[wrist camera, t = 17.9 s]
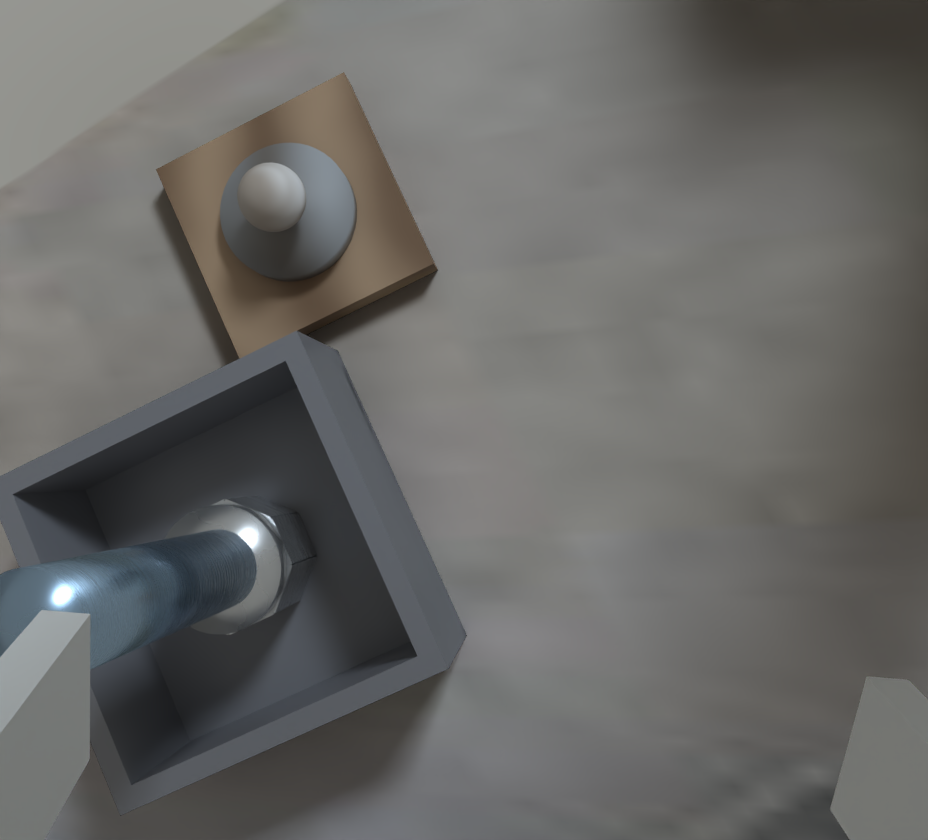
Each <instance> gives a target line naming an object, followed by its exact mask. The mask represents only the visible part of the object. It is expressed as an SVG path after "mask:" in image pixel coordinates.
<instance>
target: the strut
mask: <svg viewBox="0 0 928 840" xmlns="http://www.w3.org/2000/svg"><path fill="white" fill-rule="evenodd" d="M316 554H317V553H316V551H315V549H314V546H313V544H312V542H311V540H310V537H309V535H308V533H307V531H306V528H305V526H304V524H303V521H302V519H301V517H300V515H299V513H297V511H295V510H292V509H290V508H287V507H285V506H282V505H279V504H277V503H274V502H272V501H269V500H266V499H264V498H261V497H259V496H247V497H238V498H229V499H223V500H221V501H219V502H217V503H215V504H213V505H211V506H206V507H201V508H199V509H196V510H194V511H192V512H190V513H188V514H186V515H185V516H184V517H182V518H181V519H180V520H179V521H178V522H177V523H175V524H174V525H173V527H172V528H171V529H170V531H169V532H168V534H167V535H166V537H165V539H163V540H158V541H153V542H148V543H143V544H138V545H133V546H128V547H123V548H118V549H113V550H108V551H102V552H97V553H92V554H87V555H82V556H77V557H72V558H67V559H62V560H57V561H52V562H47V563H42V564H37V565H32V566H26V567H21V568H17V569H13V570H9V571H7V572H4V573H2V574H0V657H1V656H2V655H3V653H4V652H5V651H6V650H7V649H8V648H9V647H10V645H11V644H12V643H13V642H14V641H15V640H16V638H17V637H18V636H19V635H20V634H21V633H22V632H23V630H24V629H25V628H26V627H27V626H28V625H29V624H30V622H31V621H32V620H33V619H34V618H35V617H36V616H37V614H38V613H39V612H40V611H41V610H49V611H61V612H73V613H86V614H90V670H92V669H94V668H96V667H98V666H101V665H103V664H105V663H107V662H110V661H112V660H114V659H116V658H119V657H121V656H123V655H125V654H128V653H130V652H132V651H134V650H137V649H139V648H141V647H143V646H146V645H148V644H150V643H152V642H155V641H157V640H159V639H161V638H164V637H166V636H168V635H170V634H173V633H175V632H177V631H180V630H182V629H184V628H186V627H191V628H193V629H195V630H197V631H201V632H204V633H209V634H227V635H229V634H230V635H231V634H233V633H235V632H237V631H240V630H242V629H245V628H247V627H248V626H250V625H252V624H254V623H257V622H259V621H261V620H263V619H265V618H267V617H270V616H272V615H274V614H276V613H278V612H280V611H281V610H283V609H285V608H287V607H289V606H291V605H293V604H295V603H296V602H298V601H300V600H301V599H302V596H303V593H304V591H305V588H306V585H307V582H308V580H309V577H310V574H311V571H312V569H313V566H314V563H315V560H316V558H317V556H315V555H316Z"/></svg>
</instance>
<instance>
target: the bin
mask: <svg viewBox="0 0 928 840" xmlns="http://www.w3.org/2000/svg"><path fill="white" fill-rule="evenodd" d="M247 496H259V497H261V498H264V499H266V500H269V501H272V502H274V503H277V504H279V505H282V506H285V507H287V508H290V509H292V510H295V511H297V513H299V515H300V517H301V519H302V521H303V524H304V526H305V528H306V531H307V533H308V535H309V537H310V540H311V542H312V544H313V546H314V549H315V551H316V553H317V554H316V555H315V556H317V558H316V560H315V563H314V566H313V569H312V571H311V574H310V577H309V580H308V582H307V585H306V588H305V591H304V593H303V596H302V599H301V600H300V601H298V602H296V603H295V604H293V605H291V606H289V607H287V608H285V609H283V610H281V611H280V612H278V613H276V614H274V615H272V616H270V617H267V618H265V619H263V620H261V621H259V622H257V623H254V624H252V625H250V626H248V627H247V628H245V629H242V630H240V631H237V632H235V633H233V634H231V635H230V634H229V635H227V634H209V633H204V632H201V631H197V630H195V629H193V628H191V627H186V628H184V629H182V630H180V631H177V632H175V633H173V634H170V635H168V636H166V637H164V638H161V639H159V640H157V641H155V642H152V643H150V644H148V645H146V646H143V647H141V648H139V649H137V650H134V651H132V652H130V653H128V654H125V655H123V656H121V657H119V658H116V659H114V660H112V661H110V662H107V663H105V664H103V665H101V666H98V667H96V668H94V669H92V670H90V742H91V745H92V747H93V750H94V752H95V755H96V757H97V759H98V762H99V764H100V767H101V769H102V772H103V774H104V777H105V779H106V782H107V784H108V787H109V789H110V792H111V794H112V796H113V799H114V801H115V804H116V806H117V809H118V811H119V814H120V816H121V815H123V814H125V813H127V812H129V811H132V810H134V809H136V808H138V807H141V806H143V805H145V804H147V803H150V802H152V801H154V800H156V799H159V798H161V797H163V796H165V795H167V794H170V793H172V792H174V791H176V790H179V789H181V788H183V787H185V786H188V785H190V784H192V783H194V782H197V781H199V780H201V779H203V778H205V777H208V776H210V775H212V774H214V773H217V772H219V771H221V770H223V769H226V768H228V767H230V766H232V765H234V764H237V763H239V762H241V761H243V760H246V759H248V758H250V757H252V756H255V755H257V754H259V753H261V752H264V751H266V750H268V749H270V748H272V747H275V746H277V745H279V744H281V743H284V742H286V741H288V740H290V739H293V738H295V737H297V736H299V735H301V734H304V733H306V732H308V731H310V730H313V729H315V728H317V727H319V726H322V725H324V724H326V723H328V722H331V721H333V720H335V719H337V718H339V717H342V716H344V715H346V714H348V713H351V712H353V711H355V710H357V709H360V708H362V707H364V706H366V705H369V704H371V703H373V702H375V701H377V700H380V699H382V698H384V697H386V696H389V695H391V694H393V693H395V692H398V691H400V690H402V689H404V688H406V687H409V686H411V685H413V684H415V683H418V682H420V681H422V680H424V679H427V678H429V677H431V676H433V675H436V674H438V673H440V672H442V671H444V670H447V669H449V667H450V665H451V663H452V661H453V660H454V658H455V656H456V654H457V652H458V650H459V649H460V647H461V645H462V643H463V641H464V639H465V638H466V636H467V635H466V633H465V630H464V628H463V626H462V624H461V622H460V619H459V617H458V615H457V613H456V611H455V608H454V606H453V604H452V602H451V600H450V597H449V595H448V593H447V591H446V589H445V586H444V584H443V582H442V580H441V578H440V575H439V573H438V571H437V569H436V566H435V564H434V562H433V560H432V558H431V555H430V553H429V551H428V549H427V547H426V544H425V542H424V540H423V538H422V536H421V533H420V531H419V529H418V527H417V525H416V522H415V520H414V518H413V516H412V514H411V511H410V509H409V507H408V505H407V502H406V500H405V498H404V496H403V494H402V491H401V489H400V487H399V485H398V483H397V480H396V478H395V476H394V474H393V472H392V469H391V467H390V465H389V463H388V461H387V458H386V456H385V454H384V452H383V450H382V447H381V445H380V443H379V441H378V438H377V436H376V434H375V432H374V430H373V427H372V425H371V423H370V421H369V419H368V416H367V414H366V412H365V410H364V408H363V405H362V403H361V401H360V399H359V397H358V394H357V392H356V390H355V388H354V386H353V383H352V381H351V379H350V377H349V374H348V372H347V370H346V368H345V366H344V363H343V361H342V359H341V357H340V355H339V352H338V351H337V350H335V349H333V348H331V347H329V346H327V345H325V344H323V343H321V342H319V341H317V340H315V339H313V338H311V337H309V336H307V335H305V334H303V333H301V332H298V331H295V332H293V333H291V334H289V335H287V336H285V337H283V338H280V339H278V340H276V341H274V342H272V343H270V344H268V345H266V346H264V347H262V348H260V349H258V350H256V351H254V352H252V353H250V354H248V355H246V356H244V357H242V358H240V359H238V360H236V361H234V362H232V363H230V364H228V365H226V366H224V367H221V368H219V369H217V370H215V371H213V372H211V373H209V374H207V375H205V376H203V377H201V378H199V379H197V380H195V381H193V382H191V383H189V384H187V385H185V386H183V387H181V388H179V389H177V390H175V391H173V392H171V393H169V394H167V395H165V396H162V397H160V398H158V399H156V400H154V401H152V402H150V403H148V404H146V405H144V406H142V407H140V408H138V409H136V410H134V411H132V412H130V413H128V414H126V415H124V416H122V417H120V418H118V419H116V420H114V421H112V422H110V423H108V424H106V425H104V426H101V427H99V428H97V429H95V430H93V431H91V432H89V433H87V434H85V435H83V436H81V437H79V438H77V439H75V440H73V441H71V442H69V443H67V444H65V445H63V446H61V447H59V448H57V449H55V450H53V451H51V452H49V453H47V454H45V455H42V456H40V457H38V458H36V459H34V460H32V461H30V462H28V463H26V464H24V465H22V466H20V467H18V468H16V469H14V470H12V471H10V472H8V473H6V474H4V475H2V476H0V520H1V523H2V525H3V528H4V530H5V533H6V535H7V537H8V540H9V542H10V545H11V547H12V550H13V552H14V555H15V557H16V560H17V562H18V565H19V567H20V568H21V567H26V566H32V565H37V564H42V563H47V562H52V561H57V560H62V559H67V558H72V557H77V556H82V555H87V554H92V553H97V552H102V551H108V550H113V549H118V548H123V547H128V546H133V545H138V544H143V543H148V542H153V541H158V540H163V539H165V537H166V535H167V534H168V532H169V531H170V529H171V528H172V527H173V525H174V524H175V523H177V522H178V521H179V520H180V519H181V518H182V517H184V516H185V515H186V514H188V513H190V512H192V511H194V510H196V509H199V508H201V507H206V506H211V505H213V504H215V503H217V502H219V501H221V500H223V499H229V498H238V497H247Z"/></svg>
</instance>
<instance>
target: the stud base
mask: <svg viewBox="0 0 928 840" xmlns="http://www.w3.org/2000/svg"><path fill="white" fill-rule="evenodd" d="M156 170H157V173H158V175H159V177H160V180H161V182H162V184H163V186H164V189H165V191H166V193H167V195H168V198H169V200H170V202H171V204H172V207H173V209H174V211H175V214H176V216H177V218H178V220H179V223H180V225H181V227H182V229H183V232H184V234H185V236H186V238H187V241H188V243H189V245H190V248H191V250H192V252H193V254H194V257H195V259H196V261H197V263H198V266H199V268H200V270H201V272H202V275H203V277H204V279H205V282H206V284H207V286H208V288H209V291H210V293H211V295H212V297H213V300H214V302H215V304H216V306H217V309H218V311H219V313H220V316H221V318H222V320H223V322H224V325H225V327H226V329H227V331H228V334H229V336H230V338H231V340H232V343H233V345H234V347H235V350H236V352H237V354H238V356H239V359H240V358H242V357H244V356H246V355H248V354H250V353H252V352H254V351H256V350H258V349H260V348H262V347H264V346H266V345H268V344H270V343H272V342H274V341H276V340H278V339H280V338H283V337H285V336H287V335H289V334H291V333H293V332H295V331H298V332H301V333H303V334H305V335H307V334H309V333H311V332H313V331H315V330H317V329H319V328H321V327H323V326H325V325H327V324H329V323H331V322H333V321H335V320H337V319H339V318H341V317H343V316H345V315H348V314H350V313H352V312H354V311H356V310H358V309H360V308H362V307H364V306H366V305H368V304H370V303H372V302H374V301H376V300H378V299H380V298H382V297H384V296H386V295H388V294H390V293H392V292H394V291H396V290H398V289H401V288H403V287H405V286H407V285H409V284H411V283H413V282H415V281H417V280H419V279H421V278H423V277H425V276H427V275H429V274H431V273H433V272H435V271H437V270H438V269H437V267H436V265H435V263H434V261H433V259H432V256H431V254H430V252H429V250H428V248H427V246H426V244H425V242H424V239H423V237H422V235H421V233H420V231H419V229H418V227H417V225H416V222H415V220H414V218H413V216H412V214H411V212H410V210H409V207H408V205H407V203H406V201H405V199H404V197H403V195H402V193H401V190H400V188H399V186H398V184H397V182H396V180H395V178H394V176H393V173H392V171H391V169H390V167H389V165H388V163H387V161H386V158H385V156H384V154H383V152H382V150H381V148H380V146H379V144H378V141H377V139H376V137H375V135H374V133H373V131H372V129H371V127H370V124H369V122H368V120H367V118H366V116H365V114H364V112H363V109H362V107H361V105H360V103H359V101H358V99H357V97H356V95H355V92H354V90H353V88H352V86H351V84H350V82H349V81H348V79H347V77H346V75H345V73H342V74H340V75H338V76H336V77H334V78H332V79H330V80H328V81H326V82H324V83H322V84H320V85H318V86H316V87H315V88H313V89H311V90H309V91H307V92H305V93H303V94H301V95H299V96H297V97H295V98H293V99H291V100H289V101H287V102H286V103H284V104H282V105H280V106H278V107H276V108H274V109H272V110H270V111H268V112H266V113H264V114H262V115H260V116H258V117H257V118H255V119H253V120H251V121H249V122H247V123H245V124H243V125H241V126H239V127H237V128H235V129H233V130H231V131H229V132H227V133H226V134H224V135H222V136H220V137H218V138H216V139H214V140H212V141H210V142H208V143H206V144H204V145H202V146H200V147H198V148H197V149H195V150H193V151H191V152H189V153H187V154H185V155H183V156H181V157H179V158H177V159H175V160H173V161H171V162H169V163H168V164H166V165H164V166H162V167H160V168H158V169H156Z"/></svg>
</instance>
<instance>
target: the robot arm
mask: <svg viewBox="0 0 928 840" xmlns="http://www.w3.org/2000/svg"><path fill="white" fill-rule="evenodd" d="M89 760H90V614H86V613H73V612H61V611H49V610H41V611H40V612H39V613H38V614H37V616H36V617H35V618H34V619H33V620H32V621H31V622H30V624H29V625H28V626H27V627H26V628H25V629H24V630H23V632H22V633H21V634H20V635H19V636H18V637H17V638H16V640H15V641H14V642H13V643H12V644H11V645H10V647H9V648H8V649H7V650H6V651H5V652H4V653H3V655H2V656H1V657H0V840H45V838H46V836H47V834H48V833H49V831H50V829H51V827H52V825H53V824H54V822H55V820H56V818H57V817H58V815H59V813H60V811H61V810H62V808H63V806H64V804H65V802H66V801H67V799H68V797H69V795H70V794H71V792H72V790H73V788H74V787H75V785H76V783H77V781H78V780H79V778H80V776H81V774H82V772H83V771H84V769H85V767H86V765H87V764H88V762H89ZM830 810H831V812H832V813H833V815H834V816H835V818H836V819H837V821H838V823H839V824H840V826H841V827H842V829H843V830H844V832H845V833H846V835H847V836H848V838H849V839H850V840H928V699H927V698H926V697H925V696H924V695H923V694H922V693H921V692H920V691H919V690H918V689H917V688H916V687H915V686H914V685H913V684H912V683H911V682H910V681H909V680H906V679H894V678H881V677H869V676H867V677H866V680H865V684H864V688H863V691H862V695H861V699H860V702H859V706H858V709H857V713H856V717H855V720H854V724H853V728H852V731H851V735H850V739H849V742H848V746H847V749H846V753H845V757H844V760H843V764H842V768H841V771H840V775H839V778H838V782H837V786H836V789H835V793H834V797H833V800H832V804H831V807H830Z"/></svg>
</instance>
